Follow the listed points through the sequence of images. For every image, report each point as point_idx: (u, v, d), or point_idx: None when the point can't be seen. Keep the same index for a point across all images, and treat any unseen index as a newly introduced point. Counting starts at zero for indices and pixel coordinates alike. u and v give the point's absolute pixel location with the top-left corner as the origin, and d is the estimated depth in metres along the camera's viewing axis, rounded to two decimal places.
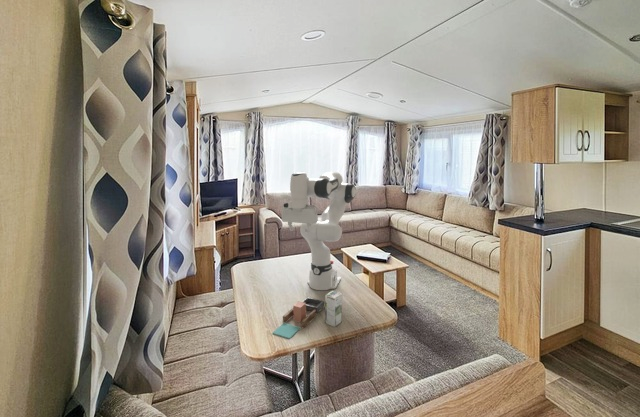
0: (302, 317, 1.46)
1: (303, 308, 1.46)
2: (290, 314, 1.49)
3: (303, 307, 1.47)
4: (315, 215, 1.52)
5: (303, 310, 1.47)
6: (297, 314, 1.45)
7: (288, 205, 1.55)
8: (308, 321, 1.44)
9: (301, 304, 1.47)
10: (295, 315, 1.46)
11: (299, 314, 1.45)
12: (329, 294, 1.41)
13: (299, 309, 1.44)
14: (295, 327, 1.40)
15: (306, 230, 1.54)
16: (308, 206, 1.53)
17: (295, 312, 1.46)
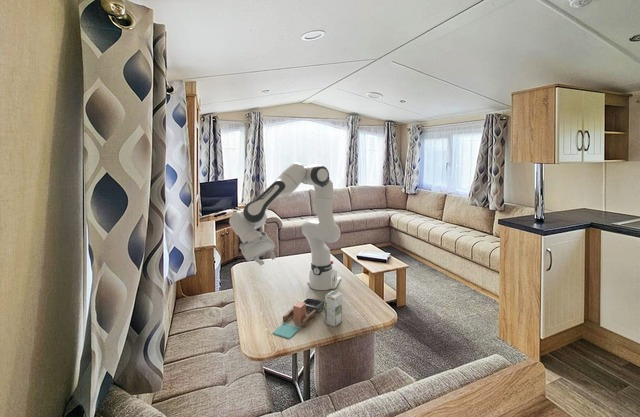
0: (302, 317, 1.46)
1: (303, 308, 1.46)
2: (290, 314, 1.49)
3: (303, 307, 1.47)
4: (244, 253, 1.45)
5: (303, 310, 1.47)
6: (297, 314, 1.45)
7: None
8: (308, 321, 1.44)
9: (301, 304, 1.47)
10: (295, 315, 1.46)
11: (299, 314, 1.45)
12: (329, 294, 1.41)
13: (299, 309, 1.44)
14: (295, 327, 1.40)
15: None
16: None
17: (295, 312, 1.46)
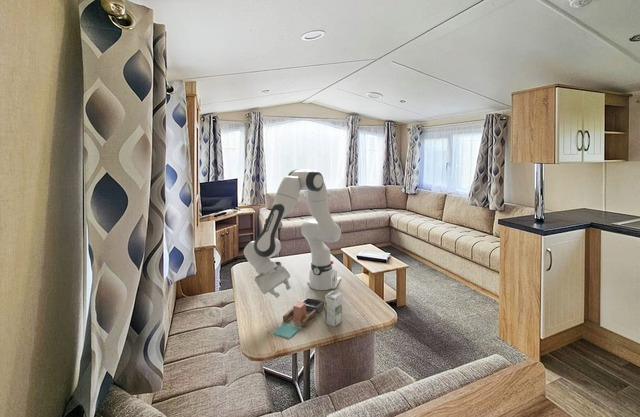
0: (302, 317, 1.46)
1: (303, 308, 1.46)
2: (290, 314, 1.49)
3: (303, 307, 1.46)
4: (260, 286, 1.44)
5: (303, 310, 1.47)
6: (297, 314, 1.45)
7: None
8: (308, 321, 1.44)
9: (301, 304, 1.47)
10: (295, 315, 1.46)
11: (299, 314, 1.45)
12: (329, 294, 1.41)
13: (299, 309, 1.44)
14: (295, 327, 1.40)
15: None
16: None
17: (295, 312, 1.46)
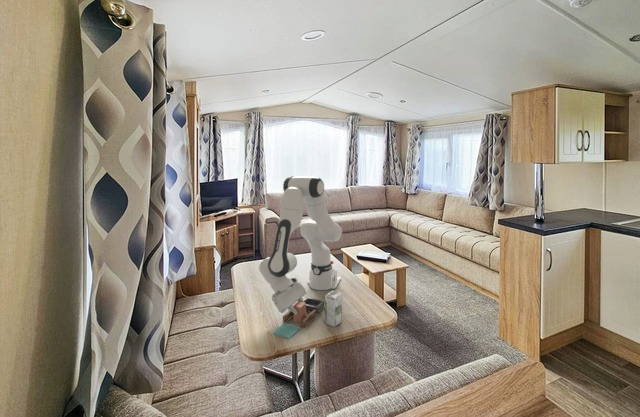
0: (302, 317, 1.46)
1: (303, 308, 1.46)
2: (290, 314, 1.49)
3: (303, 307, 1.46)
4: (277, 305, 1.41)
5: (303, 310, 1.47)
6: (297, 314, 1.45)
7: None
8: (308, 321, 1.44)
9: (301, 304, 1.47)
10: (295, 315, 1.46)
11: (299, 314, 1.45)
12: (329, 294, 1.41)
13: (299, 309, 1.44)
14: (295, 327, 1.40)
15: None
16: None
17: None
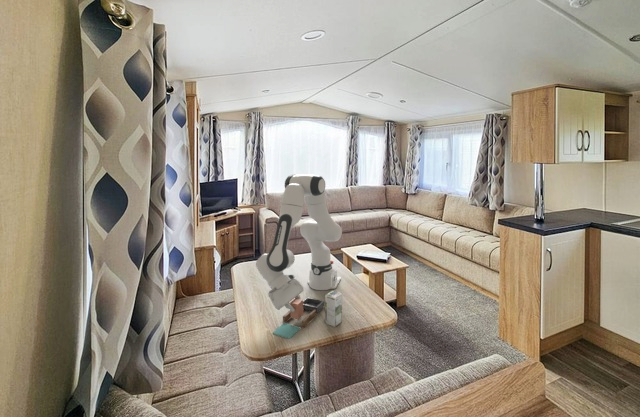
0: (299, 314, 1.44)
1: (300, 305, 1.44)
2: (290, 314, 1.49)
3: (300, 304, 1.44)
4: (273, 302, 1.38)
5: (300, 307, 1.44)
6: (294, 311, 1.43)
7: None
8: (308, 321, 1.44)
9: (298, 301, 1.44)
10: (292, 312, 1.44)
11: (296, 311, 1.42)
12: (329, 294, 1.41)
13: (296, 306, 1.42)
14: (295, 327, 1.40)
15: None
16: None
17: None
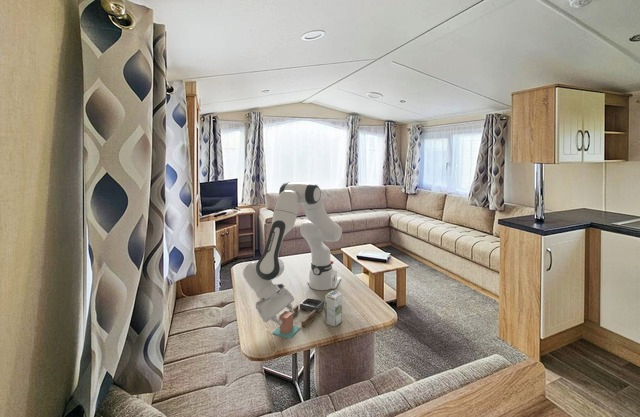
0: (289, 328, 1.36)
1: (290, 319, 1.36)
2: None
3: (290, 318, 1.36)
4: (261, 313, 1.30)
5: (290, 320, 1.37)
6: (283, 325, 1.35)
7: None
8: (308, 321, 1.44)
9: (288, 314, 1.37)
10: (281, 326, 1.36)
11: (285, 325, 1.35)
12: (329, 294, 1.41)
13: (285, 320, 1.34)
14: (295, 327, 1.40)
15: None
16: None
17: None
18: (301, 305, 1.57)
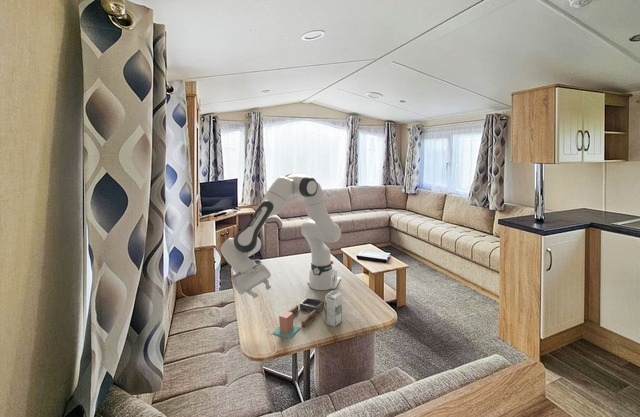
0: (289, 328, 1.36)
1: (290, 319, 1.36)
2: None
3: (290, 318, 1.36)
4: (236, 286, 1.34)
5: (290, 320, 1.37)
6: (283, 325, 1.35)
7: None
8: (308, 321, 1.44)
9: (288, 314, 1.37)
10: (281, 326, 1.36)
11: (285, 325, 1.35)
12: (329, 294, 1.41)
13: (285, 320, 1.34)
14: (295, 327, 1.40)
15: None
16: None
17: (281, 323, 1.36)
18: (301, 305, 1.57)
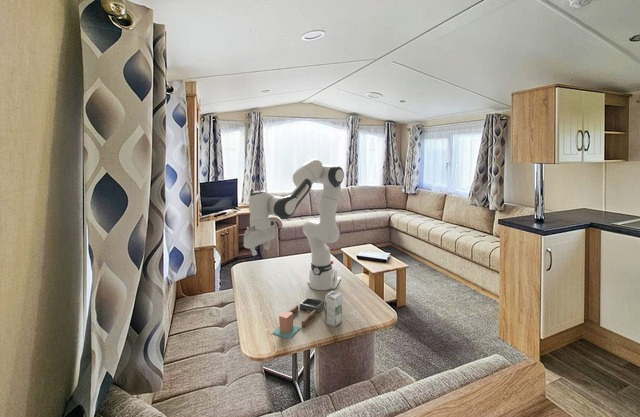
0: (289, 328, 1.36)
1: (290, 319, 1.36)
2: None
3: (290, 318, 1.36)
4: (245, 239, 1.40)
5: (290, 320, 1.37)
6: (283, 325, 1.35)
7: None
8: (308, 321, 1.44)
9: (288, 314, 1.37)
10: (281, 326, 1.36)
11: (285, 325, 1.35)
12: (329, 294, 1.41)
13: (285, 320, 1.34)
14: (295, 327, 1.40)
15: None
16: None
17: (281, 323, 1.36)
18: (301, 305, 1.57)
